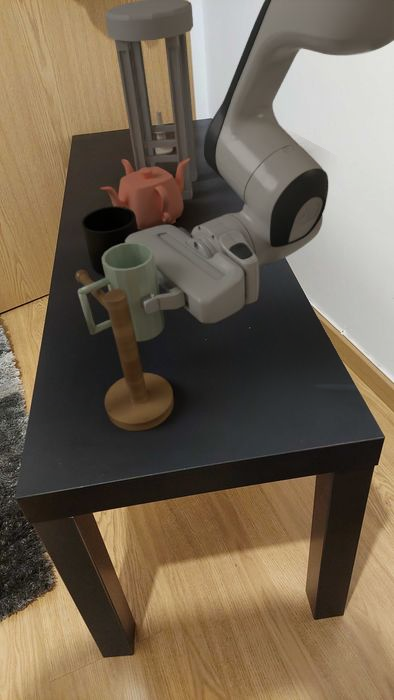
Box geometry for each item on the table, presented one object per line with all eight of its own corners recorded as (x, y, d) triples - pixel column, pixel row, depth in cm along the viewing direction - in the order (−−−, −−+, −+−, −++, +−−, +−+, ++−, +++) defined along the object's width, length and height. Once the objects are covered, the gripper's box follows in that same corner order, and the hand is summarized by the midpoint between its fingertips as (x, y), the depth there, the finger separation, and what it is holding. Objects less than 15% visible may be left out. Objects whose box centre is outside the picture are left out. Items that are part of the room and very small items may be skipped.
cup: (150, 306, 71) (137, 236, 64) (173, 328, 67) (163, 257, 60) (84, 336, 67) (63, 266, 60) (104, 361, 64) (84, 290, 56)
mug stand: (186, 408, 67) (171, 298, 55) (126, 442, 63) (96, 332, 51) (129, 345, 77) (106, 240, 65) (75, 372, 73) (39, 266, 61)
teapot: (109, 237, 102) (98, 185, 94) (130, 204, 112) (121, 154, 104) (180, 239, 99) (174, 186, 91) (194, 205, 109) (190, 154, 102)
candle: (152, 149, 135) (146, 107, 128) (171, 146, 135) (166, 104, 128) (154, 156, 131) (148, 114, 124) (174, 153, 131) (169, 111, 124)
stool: (199, 203, 109) (184, 10, 86) (129, 204, 112) (96, 17, 88) (207, 173, 121) (195, -5, 97) (143, 175, 123) (116, 1, 99)
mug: (128, 287, 88) (119, 241, 82) (81, 267, 94) (70, 223, 88) (163, 262, 93) (157, 217, 87) (117, 244, 99) (108, 201, 93)
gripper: (174, 205, 73) (87, 238, 68) (266, 264, 60) (167, 311, 55) (179, 243, 78) (97, 277, 72) (265, 306, 64) (173, 353, 59)
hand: (128, 292), depth 64 cm, fingers closed on cup, 6 cm apart
